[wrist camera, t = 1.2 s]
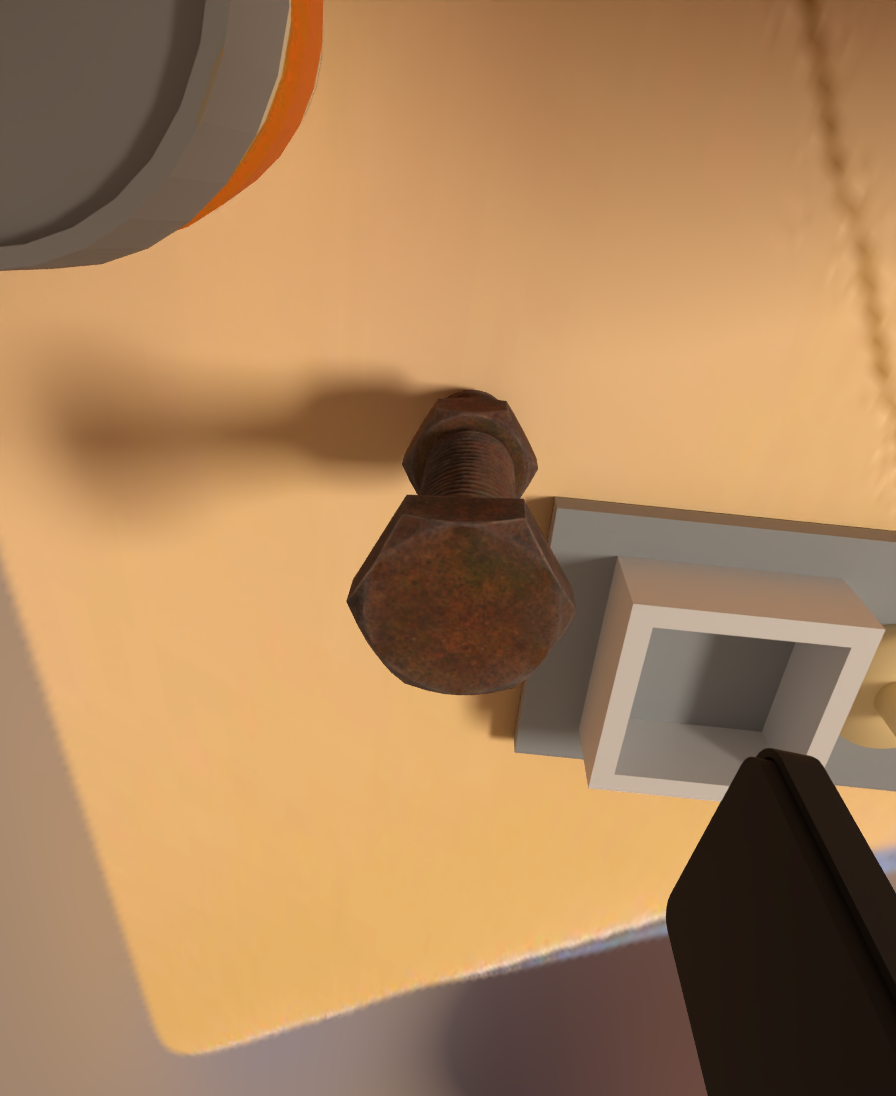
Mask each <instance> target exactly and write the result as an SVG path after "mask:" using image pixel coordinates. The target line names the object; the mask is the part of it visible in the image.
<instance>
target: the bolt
mask: <svg viewBox="0 0 896 1096" xmlns="http://www.w3.org/2000/svg"><path fill="white" fill-rule="evenodd" d="M402 465H403V467H404V469H405V471H406V474H407V476H408V478H409V480H410V482H411V484H412V485H413V487H414V489H415V491H416V493H417V494H418V495H406V497H405V498H404V500H403V502H402V503H401V505H400V506H399V508H398V509H397V511H396V513H395V514H394V516H393V517H392V519H391V521H390V522H389V524H388V525H387V527H386V528H385V530H384V532H383V533H382V535H381V536H380V538H379V539H378V541H377V543H376V544H375V546H374V547H373V549H372V551H371V552H370V554H369V555H368V557H367V558H366V560H365V562H364V563H363V565H362V566H361V568H360V570H359V571H358V573H357V574H356V576H355V577H354V579H353V582H352V585H351V588H350V591H349V595H348V598H347V604H348V606H349V608H350V610H351V612H352V614H353V616H354V619H355V621H356V623H357V625H358V627H359V629H360V630H361V632H362V634H363V636H364V637H365V639H366V641H367V643H368V644H369V645H370V647H371V648H372V649H373V651H374V652H375V654H376V655H377V656H378V657H379V659H380V660H381V661H382V663H383V664H384V665H385V666H386V667H387V668H388V669H389V670H390V671H391V673H393V674H394V675H395V676H396V677H398V678H399V679H400V680H401V681H402V682H404V683H405V684H408V685H412V686H415V687H418V688H421V689H424V690H427V691H432V692H437V693H442V694H451V695H478V694H487V693H493V692H498V691H502V690H507V689H511V688H514V687H515V686H517V685H518V684H519V683H521V682H522V681H524V680H525V679H527V678H528V677H529V676H530V675H531V674H532V673H533V672H534V671H535V670H536V669H537V668H538V667H539V666H540V665H541V663H542V662H543V661H544V660H545V658H546V657H547V656H548V655H549V653H550V652H551V651H552V649H553V648H554V647H555V645H556V644H557V643H558V641H559V640H560V638H561V637H562V635H563V634H564V632H565V631H566V629H567V627H568V625H569V624H570V622H571V620H572V618H573V617H574V615H575V613H576V611H577V609H576V603H575V598H574V592H573V588H572V586H571V584H570V582H569V581H568V579H567V577H566V575H565V573H564V571H563V570H562V568H561V566H560V564H559V562H558V561H557V559H556V557H555V555H554V553H553V551H552V550H551V548H550V546H549V544H548V542H547V540H546V539H545V537H544V535H543V533H542V531H541V530H540V528H539V526H538V524H537V522H536V520H535V519H534V517H533V515H532V513H531V511H530V509H529V508H528V506H527V504H526V502H525V500H524V499H520V498H521V496H522V494H523V493H524V491H525V490H526V488H527V487H528V485H529V484H530V482H531V480H532V478H533V477H534V475H535V473H536V471H537V470H538V465H537V459H536V456H535V454H534V452H533V450H532V448H531V446H530V443H529V441H528V439H527V437H526V435H525V433H524V431H523V429H522V428H521V426H520V424H519V422H518V420H517V418H516V417H515V415H514V413H513V411H512V410H511V408H510V406H509V405H508V403H507V401H501V400H497V399H496V398H495V397H493V396H492V395H490V394H488V393H486V392H482V391H477V390H467V391H462V392H458V393H455V394H453V395H451V396H449V397H448V398H446V399H438V400H437V402H436V403H435V405H434V406H433V408H432V409H431V411H430V412H429V414H428V415H427V417H426V418H425V420H424V422H423V423H422V425H421V426H420V428H419V430H418V432H417V433H416V435H415V437H414V438H413V440H412V442H411V444H410V446H409V447H408V449H407V451H406V453H405V455H404V459H403V462H402Z"/></svg>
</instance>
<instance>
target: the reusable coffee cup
mask: <svg viewBox="0 0 896 1096" xmlns="http://www.w3.org/2000/svg"><path fill="white" fill-rule="evenodd" d="M322 24H323V0H0V271H6V270H33V269H55V268H66V267H76V266H86V265H97V264H103V263H106V262H109V261H112V260H115V259H118V258H121V257H124V256H127V255H130V254H133V253H136V252H139V251H142V250H145V249H148V248H149V247H151V246H153V245H154V244H156V243H157V242H159V241H160V240H162V239H164V238H165V237H167V236H168V235H170V234H171V233H173V232H175V231H177V230H180V229H183V228H185V227H188V226H190V225H191V224H193V223H194V222H196V221H198V220H199V219H201V218H202V217H204V216H206V215H207V214H209V213H210V212H212V211H213V210H215V209H217V208H218V207H220V206H221V205H223V204H224V203H226V202H227V201H229V200H230V199H231V198H233V197H234V196H235V195H237V194H238V193H240V192H241V191H242V190H244V189H245V188H247V187H248V186H249V185H251V184H252V183H254V182H255V181H256V180H257V179H258V178H259V177H260V176H261V175H262V174H263V173H264V172H265V171H266V170H267V169H268V168H269V167H270V166H271V165H272V164H273V163H274V162H275V161H276V160H277V159H278V158H279V157H280V156H281V154H282V152H283V151H284V149H285V148H286V146H287V144H288V143H289V141H290V140H291V138H292V137H293V135H294V133H295V132H296V130H297V129H298V127H299V125H300V123H301V121H302V118H303V116H304V115H305V113H306V112H307V109H308V106H309V104H310V101H311V99H312V96H313V94H314V91H315V88H316V85H317V80H318V74H319V69H320V64H321V59H322Z"/></svg>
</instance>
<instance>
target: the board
mask: <svg viewBox="0 0 896 1096" xmlns="http://www.w3.org/2000/svg"><path fill="white" fill-rule="evenodd" d="M547 542H548V544H549V546H550V548H551V550H552V551H553V553H554V555H555V557H556V559H557V561H558V562H559V564H560V566H561V568H562V570H563V571H564V573H565V575H566V577H567V579H568V581H569V582H570V584H571V586H572V588H573V592H574V598H575V603H576V609H577V611H576V613H575V615H574V617H573V618H572V620H571V622H570V624H569V625H568V627H567V629H566V631H565V632H564V634H563V635H562V637H561V638H560V640H559V641H558V643H557V644H556V645H555V647H554V648H553V649H552V651H551V652H550V653H549V655H548V656H547V657H546V658H545V660H544V661H543V662H542V663H541V665H540V666H539V667H538V668H537V669H536V670H535V671H534V672H533V673H532V674H531V675H530V676H529V677H528V678H527V679H525V680H524V681H523V687H522V693H521V699H520V704H519V710H518V716H517V722H516V728H515V734H514V748H515V752H516V753H526V754H535V755H545V756H555V757H565V758H574V759H584V764H585V770H586V777H587V783H588V788H591V789H601V790H610V791H620V792H630V793H640V794H649V795H659V796H669V797H679V798H689V799H698V800H708V801H718V802H721V801H722V799H723V797H724V795H725V793H726V791H727V790H728V788H729V786H730V784H731V782H732V780H733V779H734V777H735V775H736V773H737V771H738V769H739V768H740V766H741V764H742V763H743V761H744V760H745V759H746V758H748V757H756V756H757V755H758V753H759V752H760V751H762V750H763V749H765V748H773V749H778V750H783V751H788V752H793V753H798V754H803V755H808V756H813V757H814V758H816V759H818V760H819V761H820V762H821V764H822V765H823V766H824V768H825V770H826V771H827V773H828V775H829V777H830V778H831V780H832V782H833V784H834V785H839V786H848V787H858V788H868V789H878V790H887V791H896V531H888V530H878V529H868V528H858V527H848V526H839V525H829V524H819V523H809V522H799V521H789V520H779V519H770V518H760V517H750V516H740V515H730V514H720V513H711V512H701V511H691V510H681V509H671V508H661V507H652V506H642V505H632V504H622V503H612V502H602V501H593V500H583V499H573V498H563V497H555V500H554V506H553V512H552V518H551V524H550V529H549V535H548V541H547Z"/></svg>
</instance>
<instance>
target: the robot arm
mask: <svg viewBox="0 0 896 1096" xmlns="http://www.w3.org/2000/svg"><path fill="white" fill-rule="evenodd" d="M666 924H667V930H668V934H669V938H670V942H671V946H672V950H673V954H674V959H675V962H676V967H677V971H678V975H679V979H680V983H681V987H682V992H683V996H684V1000H685V1004H686V1008H687V1012H688V1016H689V1020H690V1024H691V1028H692V1032H693V1037H694V1041H695V1045H696V1049H697V1053H698V1057H699V1061H700V1065H701V1069H702V1074H703V1078H704V1082H705V1086H706V1090H707V1094H708V1096H896V893H895V891H894V889H893V887H892V886H891V884H890V882H889V880H888V879H887V877H886V875H885V873H884V872H883V870H882V868H881V866H880V865H879V863H878V861H877V859H876V858H875V856H874V854H873V852H872V851H871V849H870V847H869V845H868V844H867V842H866V840H865V838H864V836H863V835H862V833H861V831H860V829H859V828H858V826H857V824H856V822H855V821H854V819H853V817H852V815H851V814H850V812H849V810H848V808H847V807H846V805H845V803H844V801H843V800H842V798H841V796H840V794H839V792H838V791H837V789H836V787H835V785H834V784H833V782H832V780H831V778H830V777H829V775H828V773H827V771H826V770H825V768H824V766H823V765H822V764H821V762H820V761H819V760H818V759H816V758H814V757H813V756H808V755H803V754H798V753H793V752H788V751H783V750H778V749H773V748H765V749H763V750H762V751H760V752H759V753H758V755H757V756H756V757H748V758H746V759H745V760H744V761H743V763H742V764H741V766H740V768H739V769H738V771H737V773H736V775H735V777H734V779H733V780H732V782H731V784H730V786H729V788H728V790H727V791H726V793H725V795H724V797H723V799H722V801H721V803H720V804H719V806H718V808H717V810H716V812H715V814H714V815H713V817H712V819H711V821H710V823H709V825H708V826H707V828H706V830H705V832H704V834H703V836H702V837H701V839H700V841H699V843H698V845H697V847H696V848H695V850H694V852H693V854H692V856H691V858H690V859H689V861H688V863H687V865H686V867H685V869H684V871H683V872H682V874H681V876H680V878H679V880H678V882H677V883H676V885H675V887H674V889H673V891H672V893H671V894H670V897H669V899H668V903H667V909H666Z"/></svg>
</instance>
